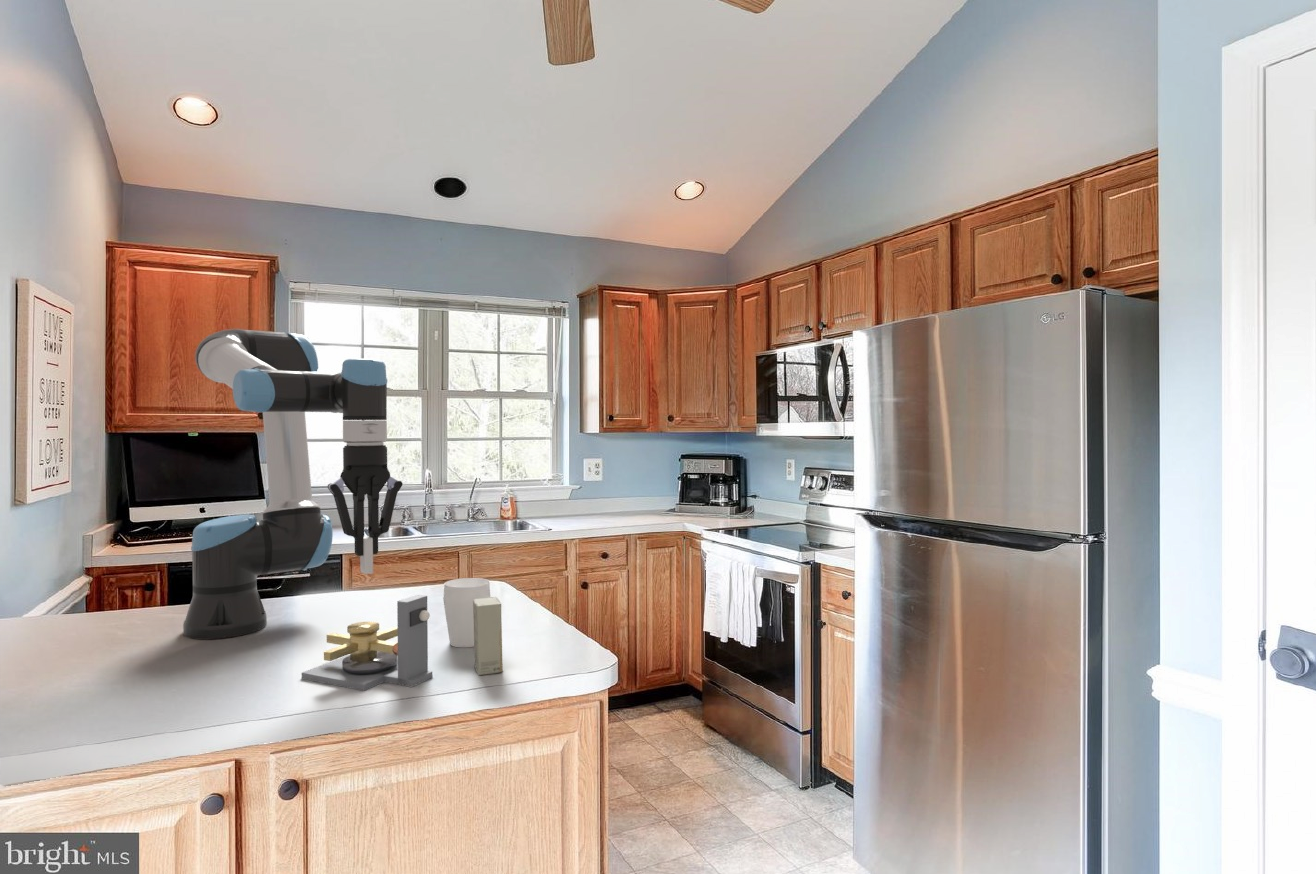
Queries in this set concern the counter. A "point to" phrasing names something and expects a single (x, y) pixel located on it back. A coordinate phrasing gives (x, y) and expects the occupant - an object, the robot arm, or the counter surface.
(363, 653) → the capstan
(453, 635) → the cup
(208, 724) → the counter surface
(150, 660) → the counter surface
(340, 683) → the stand
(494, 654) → the skincare box
